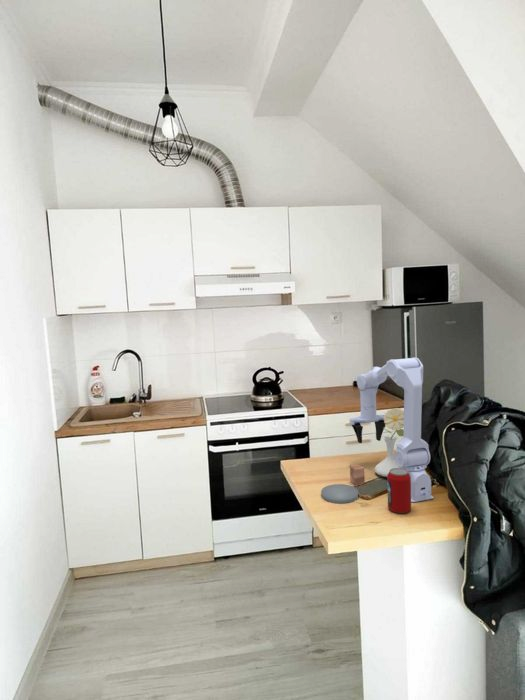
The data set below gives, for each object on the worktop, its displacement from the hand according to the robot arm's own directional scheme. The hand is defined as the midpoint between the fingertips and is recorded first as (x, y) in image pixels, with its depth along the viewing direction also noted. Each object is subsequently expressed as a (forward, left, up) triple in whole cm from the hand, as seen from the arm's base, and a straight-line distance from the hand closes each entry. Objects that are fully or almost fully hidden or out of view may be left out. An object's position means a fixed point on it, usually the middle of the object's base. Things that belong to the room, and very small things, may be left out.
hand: (369, 441), depth 179 cm
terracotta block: (-13, +12, -10) cm, 20 cm away
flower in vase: (-11, -3, -10) cm, 15 cm away
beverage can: (-36, +10, -10) cm, 38 cm away
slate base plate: (-20, +22, -10) cm, 31 cm away
